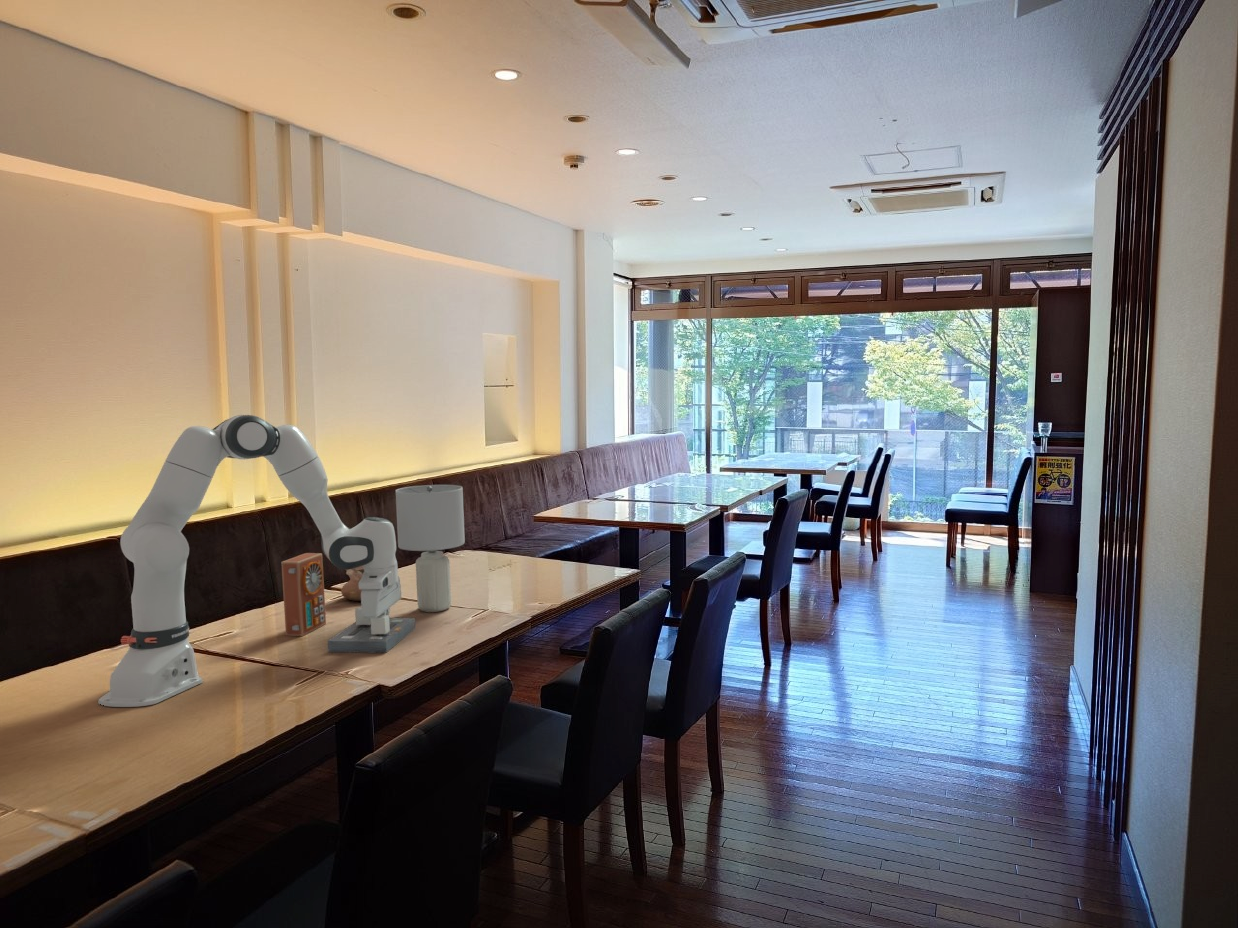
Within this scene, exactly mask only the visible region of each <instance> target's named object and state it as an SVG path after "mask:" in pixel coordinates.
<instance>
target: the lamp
mask: <svg viewBox="0 0 1238 928" xmlns="http://www.w3.org/2000/svg"><path fill="white" fill-rule="evenodd" d="M463 491H464V489H463V486H461V485H458V484H456V485H455V484H426V485H424V484H423V485H414V486H405V487H401V488H397V489H395V507H396V508H395V509H396V527H397V547H398V549H400V550H404V551H410V552H411V551H414V552H422V553H421V554H420V557H418V558H417V559H416V560H415V576H416V577H415V581H416V598H417V599H416V601H417V602H416V603H417V607H418V609H419V610H420V611H422V612H425V613H436V612H438V613H439V612H444V611H445V610H448V609H449V608H450V606H451V605H452V591H451V590H452V589H451V568H450V567H451V566H450V563H451V562H450V559H449V557H448V556H447V555H445V554H444V552H443V550H449V549H455V548H458V547H460V546H463V545H464V544H465V541H466V539H465V537H466V536H465V516H464V513H465V511H464V494H463V493H464V492H463Z"/></svg>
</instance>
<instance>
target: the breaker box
mask: <svg viewBox="0 0 1238 928" xmlns="http://www.w3.org/2000/svg"><path fill="white" fill-rule="evenodd" d="M389 624H390V631H389V632H388V633H386V634H371V624H370V625H356V621H355V622H353V623H352V624H351V625H349V626H348V627H345V628H344V629H343V630H342V631H340V632H338V633H337V634H336V635H335V636H333V637H331V638H330V639H328V641H327V647H328V648H327V649H328V650H327V651H328V653H371V654H372V653H374V654H375V653H376V652H377V653H376V654H378V653H381V654H382V652H386V653H388V652H389V651H391V650H392V649H393V648H394V647H395V646H396V645H397V644H399V643H400V642H401V641H402V640H403V639H405V638H406V637H407V636H408V635H409V634H410V633H411V632H412V631H413V629H414V628H415V629H416V619H415V618H414V617H389ZM415 629H414V630H415ZM406 635H407V636H406ZM405 636H406V637H405ZM386 653H385V654H386Z"/></svg>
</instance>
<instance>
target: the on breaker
mask: <svg viewBox="0 0 1238 928" xmlns="http://www.w3.org/2000/svg"><path fill="white" fill-rule="evenodd" d="M354 616H355V622H356V625H370V624H371V618H365V617H364V615H363V613H362V606H357V608H355V609H354Z"/></svg>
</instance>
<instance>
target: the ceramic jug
mask: <svg viewBox="0 0 1238 928" xmlns="http://www.w3.org/2000/svg"><path fill="white" fill-rule="evenodd" d="M345 571H346V572H345V574H346V575H347V576H348V577H349V579H350V580H348V581H347V582H346V583H344V584H343V586H342V587H341V591H340V592H341V595H342V597H344V598H345V599H347V600H349V601H353V602H354V601H355V602H361V591H362V590H360V589H359V581H360V580H361V578H362V576H363V573H364V565H363V566H360V567H356V568H352V569H347V570H345Z"/></svg>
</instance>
